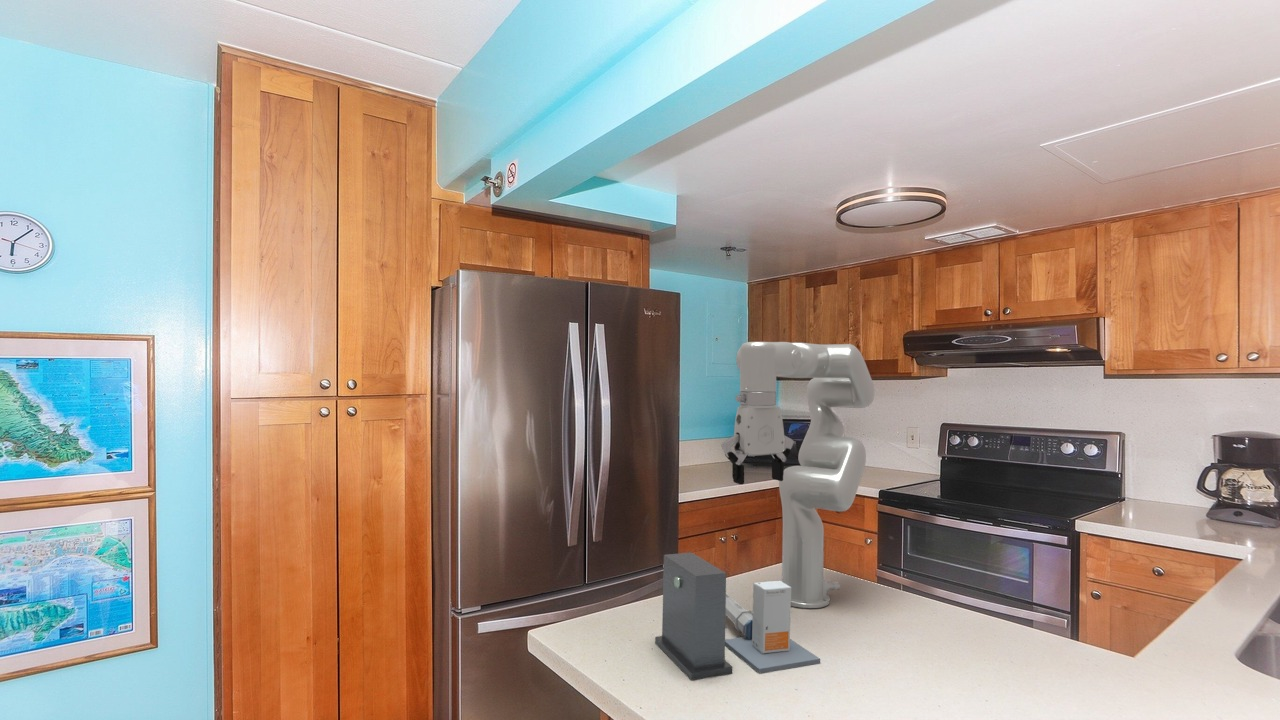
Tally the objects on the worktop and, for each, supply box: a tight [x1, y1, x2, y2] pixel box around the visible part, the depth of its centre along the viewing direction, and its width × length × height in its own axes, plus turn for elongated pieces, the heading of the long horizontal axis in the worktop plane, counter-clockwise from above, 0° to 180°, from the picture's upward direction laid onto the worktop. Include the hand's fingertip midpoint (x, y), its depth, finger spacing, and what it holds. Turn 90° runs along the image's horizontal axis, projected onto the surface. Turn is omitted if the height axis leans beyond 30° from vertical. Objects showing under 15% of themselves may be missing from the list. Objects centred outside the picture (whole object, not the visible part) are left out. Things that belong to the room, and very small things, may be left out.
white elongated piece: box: [726, 593, 753, 640], centre depth 132 cm, size 5×7×25 cm
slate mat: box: [725, 636, 821, 674], centre depth 116 cm, size 13×13×1 cm
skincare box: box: [752, 580, 792, 654], centre depth 117 cm, size 6×4×12 cm
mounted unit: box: [654, 552, 733, 681], centre depth 114 cm, size 8×16×17 cm, turn 21°
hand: (758, 481), depth 129 cm, fingers open, 9 cm apart
